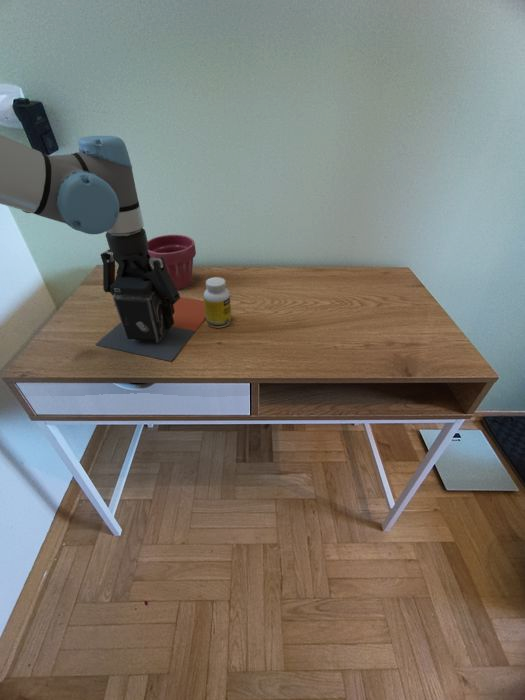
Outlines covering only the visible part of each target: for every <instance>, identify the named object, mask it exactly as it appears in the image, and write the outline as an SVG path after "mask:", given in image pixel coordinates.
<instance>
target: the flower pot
mask: <svg viewBox="0 0 525 700" xmlns="http://www.w3.org/2000/svg"><path fill="white" fill-rule="evenodd" d="M147 241H148V253H149V255H150V256H151V258H157V259H158V258H159V257H163V258H164V261H165V267H166V269H167V271H168V273H169V275H170V277H171V279H172V281H173V283H174V285H175V287H176V289H177V290H181V289H185V288H187V287H189V286H190V285H191V283H192V277H193V267H194V258H195V257H196V255H197V251H196V250H197V249H196V243H195V240H194V239H193V238H191V237H190V236H187V235H183V234H165V235H160V236H155V237H152V238H150V239H149V240H147Z"/></svg>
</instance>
